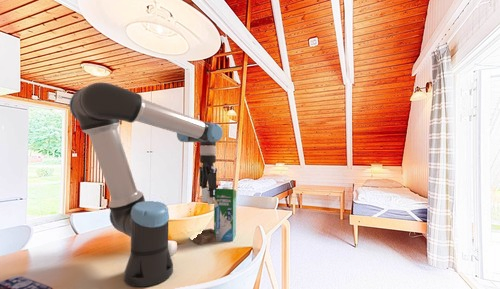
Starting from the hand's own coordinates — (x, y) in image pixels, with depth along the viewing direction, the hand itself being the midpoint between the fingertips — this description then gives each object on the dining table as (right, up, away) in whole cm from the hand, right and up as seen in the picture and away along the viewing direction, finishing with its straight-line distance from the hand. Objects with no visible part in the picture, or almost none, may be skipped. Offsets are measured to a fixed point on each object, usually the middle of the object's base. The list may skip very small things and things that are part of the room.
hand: (207, 202), depth 118 cm
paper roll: (-11, -14, -19) cm, 26 cm away
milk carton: (+8, -18, +1) cm, 20 cm away
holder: (0, -17, 0) cm, 17 cm away
